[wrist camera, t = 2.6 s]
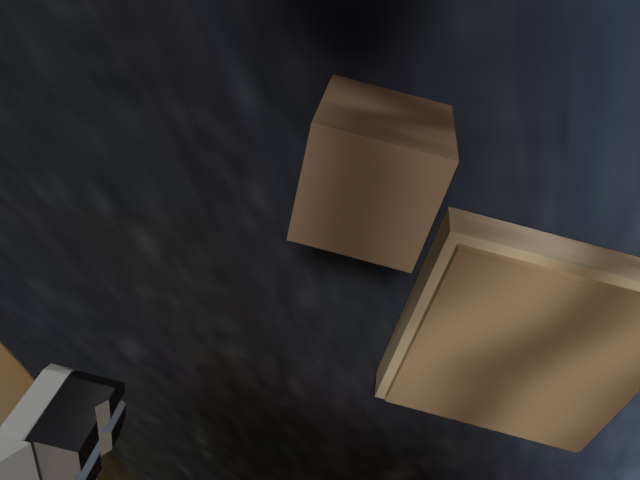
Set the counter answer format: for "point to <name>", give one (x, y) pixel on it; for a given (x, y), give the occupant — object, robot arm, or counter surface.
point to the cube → (373, 173)
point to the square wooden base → (517, 332)
